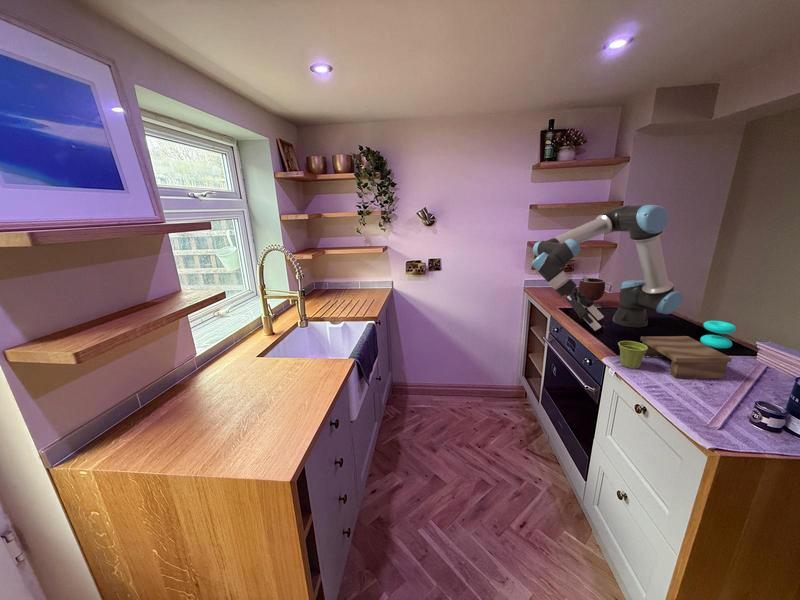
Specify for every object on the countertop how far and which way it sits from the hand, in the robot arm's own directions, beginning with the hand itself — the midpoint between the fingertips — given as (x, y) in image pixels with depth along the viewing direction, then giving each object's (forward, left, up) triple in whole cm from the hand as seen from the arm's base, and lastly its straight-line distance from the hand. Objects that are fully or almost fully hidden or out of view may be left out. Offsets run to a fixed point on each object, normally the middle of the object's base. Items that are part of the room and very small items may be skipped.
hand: (599, 323), depth 127 cm
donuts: (-13, +56, -16) cm, 60 cm away
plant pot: (+6, +10, -16) cm, 20 cm away
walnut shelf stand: (+6, +28, -16) cm, 33 cm away
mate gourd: (-73, +30, -16) cm, 81 cm away
